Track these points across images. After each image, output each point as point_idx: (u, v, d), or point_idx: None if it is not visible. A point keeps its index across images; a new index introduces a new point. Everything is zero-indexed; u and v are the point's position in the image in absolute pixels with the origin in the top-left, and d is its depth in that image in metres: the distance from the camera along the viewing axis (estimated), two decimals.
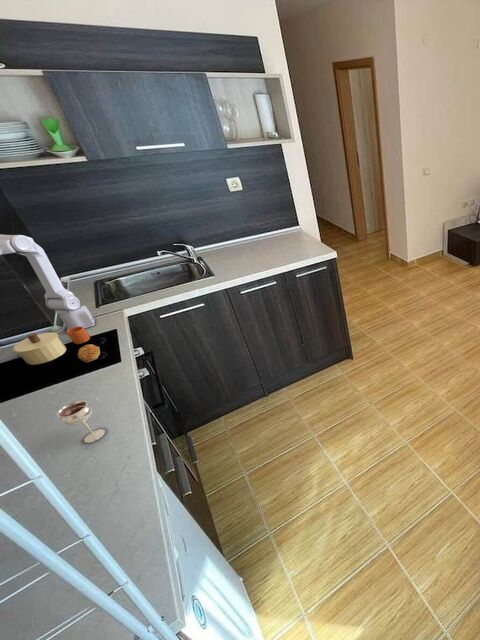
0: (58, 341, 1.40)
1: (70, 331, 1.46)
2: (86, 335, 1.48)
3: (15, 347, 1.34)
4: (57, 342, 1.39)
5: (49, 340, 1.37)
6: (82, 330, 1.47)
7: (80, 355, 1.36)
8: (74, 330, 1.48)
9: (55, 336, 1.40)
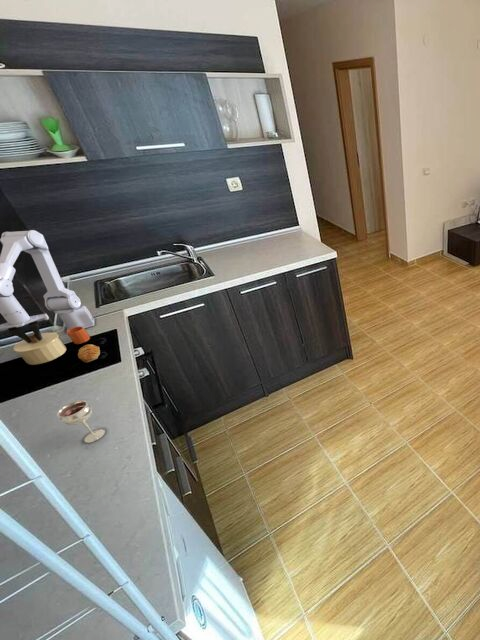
0: (58, 341, 1.40)
1: (70, 331, 1.46)
2: (86, 335, 1.48)
3: (15, 347, 1.34)
4: (57, 342, 1.39)
5: (49, 340, 1.37)
6: (82, 330, 1.47)
7: (80, 355, 1.36)
8: (74, 330, 1.48)
9: (55, 336, 1.40)
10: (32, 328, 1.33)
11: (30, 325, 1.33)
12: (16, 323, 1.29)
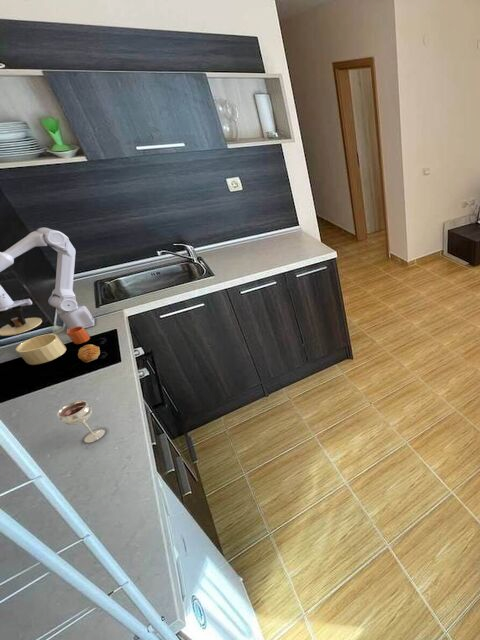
0: (58, 341, 1.40)
1: (70, 331, 1.46)
2: (86, 335, 1.48)
3: None
4: (57, 342, 1.39)
5: (33, 324, 1.42)
6: (82, 330, 1.47)
7: (80, 355, 1.36)
8: (74, 330, 1.48)
9: (39, 321, 1.44)
10: (16, 312, 1.37)
11: (14, 309, 1.37)
12: (0, 307, 1.34)
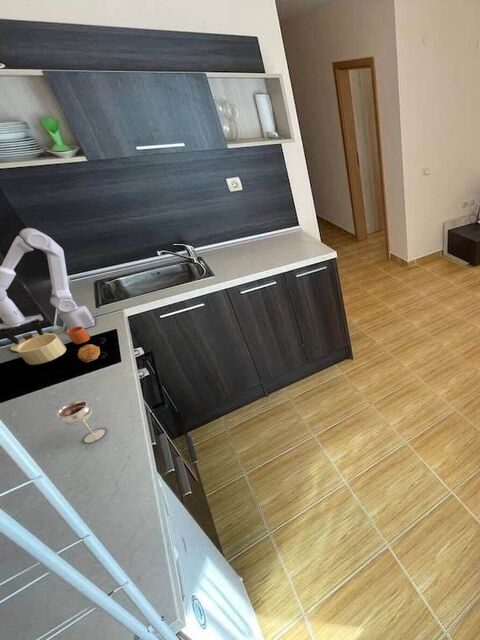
0: (58, 341, 1.40)
1: (70, 331, 1.46)
2: (86, 335, 1.48)
3: (12, 346, 1.44)
4: (57, 342, 1.39)
5: None
6: (82, 330, 1.47)
7: (80, 355, 1.36)
8: (74, 330, 1.48)
9: None
10: (34, 326, 1.44)
11: (33, 323, 1.44)
12: (12, 323, 1.39)
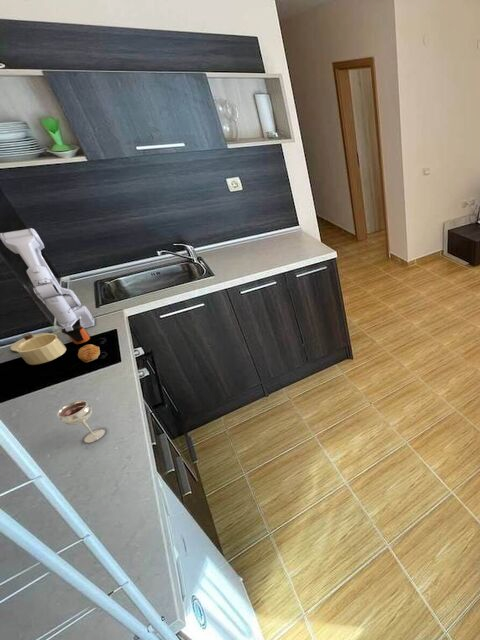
0: (58, 341, 1.40)
1: None
2: (86, 335, 1.48)
3: (12, 346, 1.44)
4: (57, 342, 1.39)
5: None
6: (82, 330, 1.47)
7: (80, 355, 1.36)
8: None
9: None
10: (79, 320, 1.49)
11: None
12: (75, 316, 1.44)
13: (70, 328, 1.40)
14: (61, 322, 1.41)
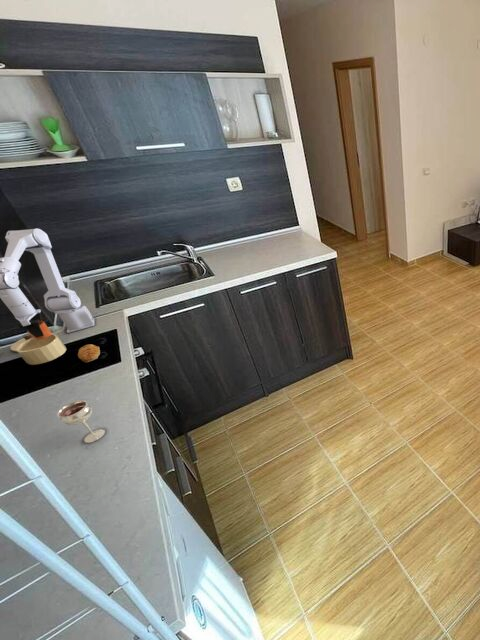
0: (58, 341, 1.40)
1: None
2: (47, 330, 1.37)
3: (12, 346, 1.44)
4: (57, 342, 1.39)
5: None
6: (42, 325, 1.36)
7: (80, 355, 1.36)
8: None
9: None
10: None
11: None
12: (34, 310, 1.33)
13: (27, 322, 1.28)
14: (17, 316, 1.30)
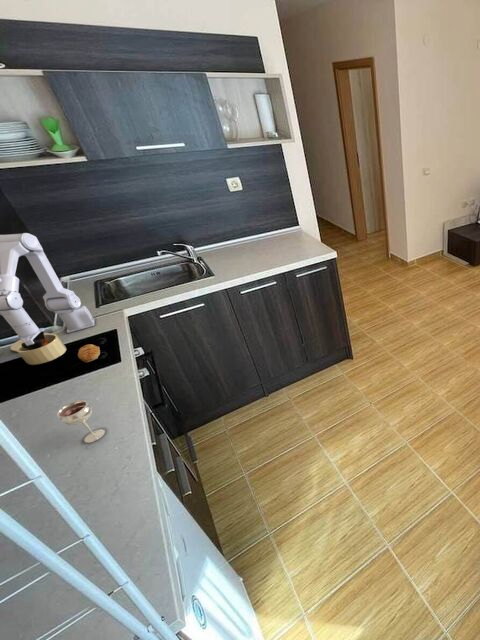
0: (58, 341, 1.40)
1: None
2: None
3: (12, 346, 1.44)
4: (57, 342, 1.39)
5: None
6: (46, 344, 1.38)
7: (80, 355, 1.36)
8: None
9: None
10: (43, 332, 1.40)
11: None
12: (38, 329, 1.35)
13: (30, 342, 1.31)
14: (21, 335, 1.32)
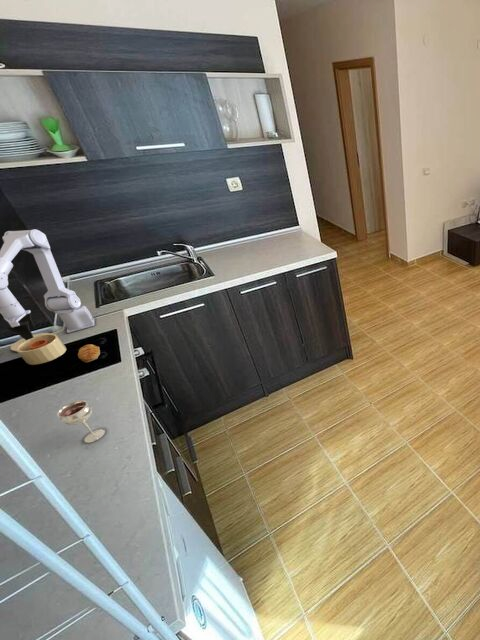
0: (58, 341, 1.40)
1: (33, 345, 1.38)
2: None
3: (12, 346, 1.44)
4: (57, 342, 1.39)
5: None
6: (46, 344, 1.38)
7: (80, 355, 1.36)
8: (37, 344, 1.39)
9: None
10: (30, 314, 1.36)
11: None
12: (24, 311, 1.31)
13: (16, 323, 1.26)
14: (6, 317, 1.27)
